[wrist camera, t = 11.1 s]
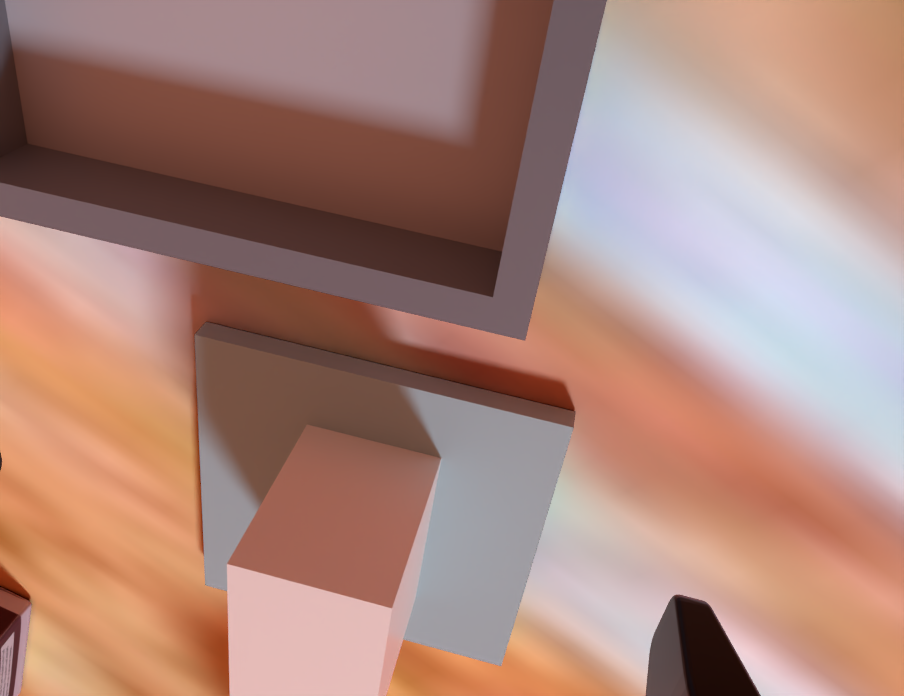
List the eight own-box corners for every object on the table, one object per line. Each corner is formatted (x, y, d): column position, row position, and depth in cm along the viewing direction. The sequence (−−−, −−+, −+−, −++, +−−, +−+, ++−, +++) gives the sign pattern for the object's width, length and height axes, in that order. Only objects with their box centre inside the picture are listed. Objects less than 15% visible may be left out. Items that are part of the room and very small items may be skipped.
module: (441, 458, 25) (392, 608, 20) (415, 598, 29) (368, 753, 24) (306, 424, 26) (226, 563, 21) (299, 567, 30) (229, 713, 25)
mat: (575, 411, 24) (573, 427, 24) (504, 648, 31) (500, 666, 30) (206, 321, 25) (194, 334, 25) (214, 569, 32) (205, 585, 32)
